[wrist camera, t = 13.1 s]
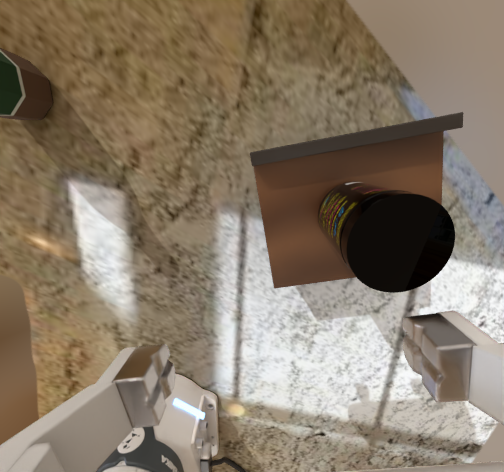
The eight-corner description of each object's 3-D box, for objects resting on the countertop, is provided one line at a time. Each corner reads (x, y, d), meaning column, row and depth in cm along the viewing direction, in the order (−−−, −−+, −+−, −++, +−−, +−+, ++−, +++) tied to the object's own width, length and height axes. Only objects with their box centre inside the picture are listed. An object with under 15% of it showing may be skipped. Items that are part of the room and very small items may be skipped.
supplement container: (316, 246, 28) (345, 295, 18) (314, 183, 26) (346, 198, 16) (380, 241, 27) (448, 289, 17) (383, 177, 25) (462, 188, 15)
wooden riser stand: (392, 237, 38) (455, 275, 25) (272, 255, 39) (275, 299, 27) (389, 129, 34) (463, 111, 21) (255, 155, 35) (249, 152, 23)
